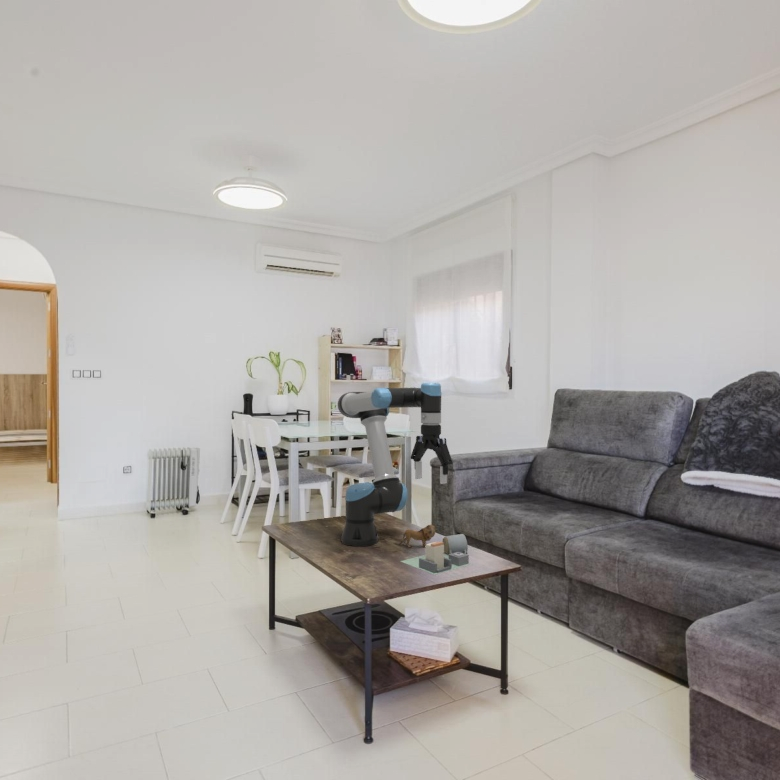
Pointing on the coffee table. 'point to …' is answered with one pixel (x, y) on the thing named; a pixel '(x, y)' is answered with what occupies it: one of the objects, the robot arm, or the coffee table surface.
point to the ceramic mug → (455, 544)
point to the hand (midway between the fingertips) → (430, 481)
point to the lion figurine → (419, 535)
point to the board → (415, 561)
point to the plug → (435, 553)
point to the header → (435, 565)
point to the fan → (459, 558)
